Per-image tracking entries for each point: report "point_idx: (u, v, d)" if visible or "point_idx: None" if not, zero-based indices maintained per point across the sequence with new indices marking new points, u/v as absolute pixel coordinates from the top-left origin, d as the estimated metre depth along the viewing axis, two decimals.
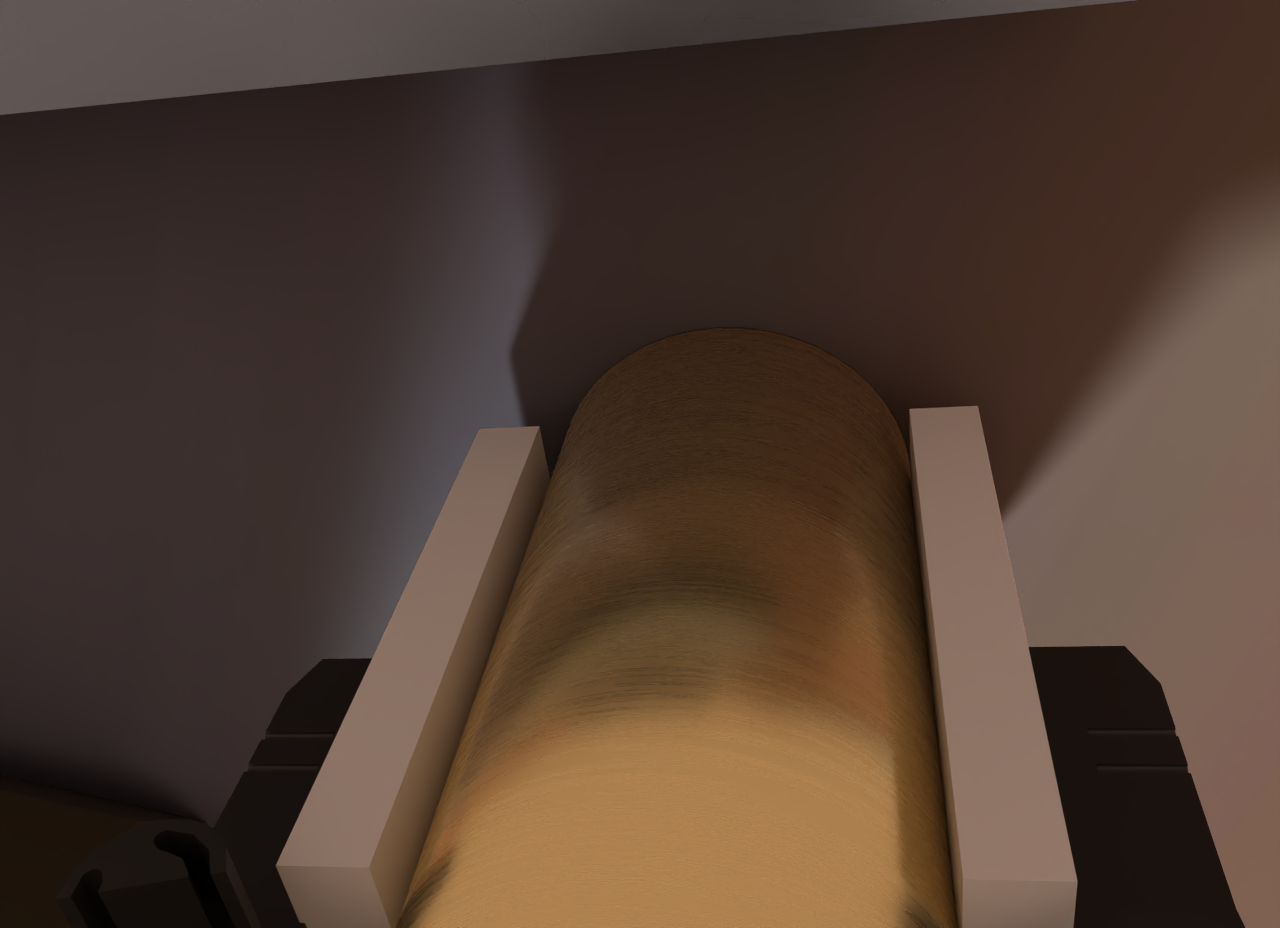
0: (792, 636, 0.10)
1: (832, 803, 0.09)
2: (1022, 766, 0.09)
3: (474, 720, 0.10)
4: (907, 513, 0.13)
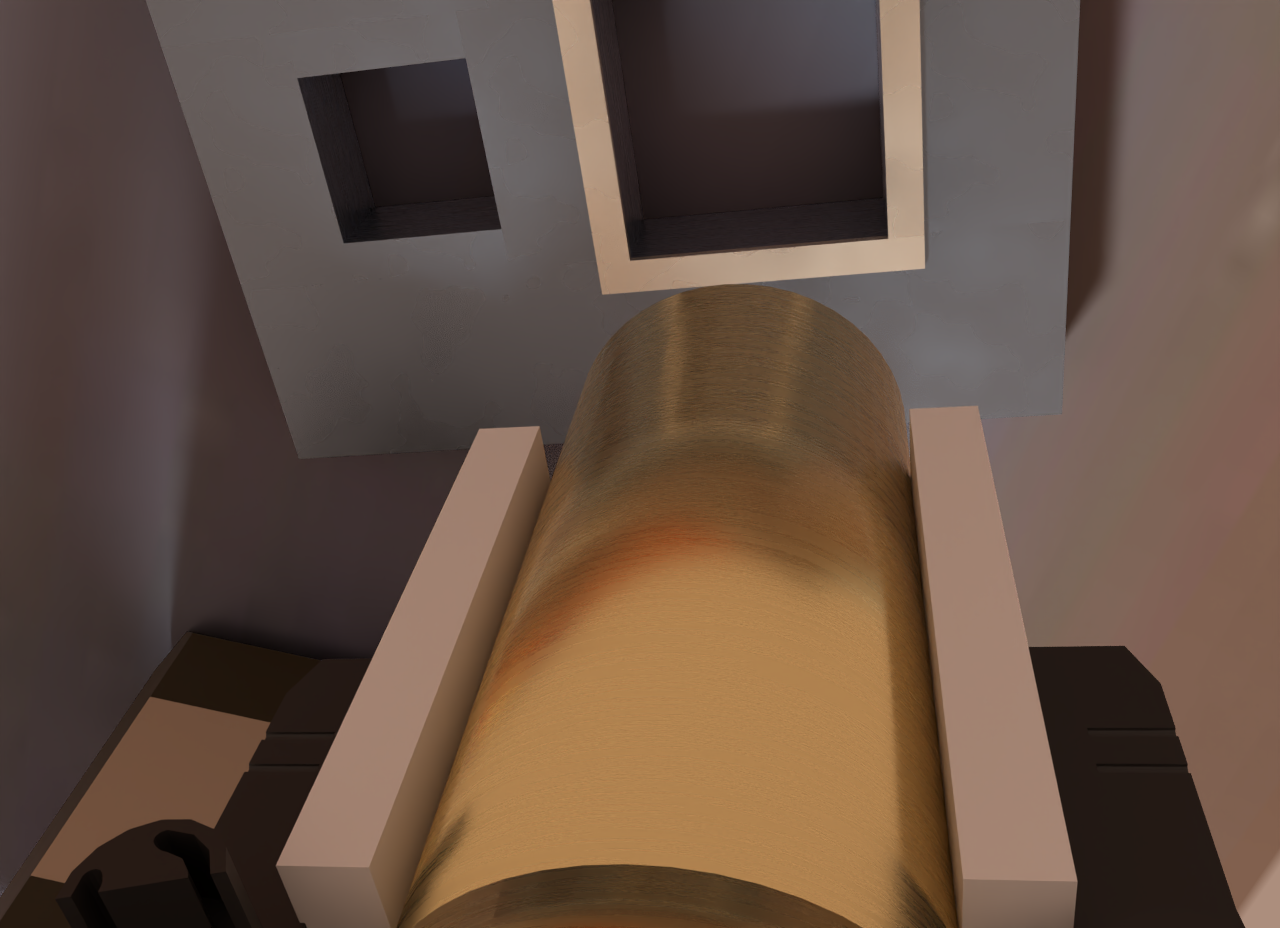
0: (796, 546, 0.11)
1: (831, 681, 0.10)
2: (1022, 766, 0.09)
3: (507, 625, 0.11)
4: (902, 452, 0.14)
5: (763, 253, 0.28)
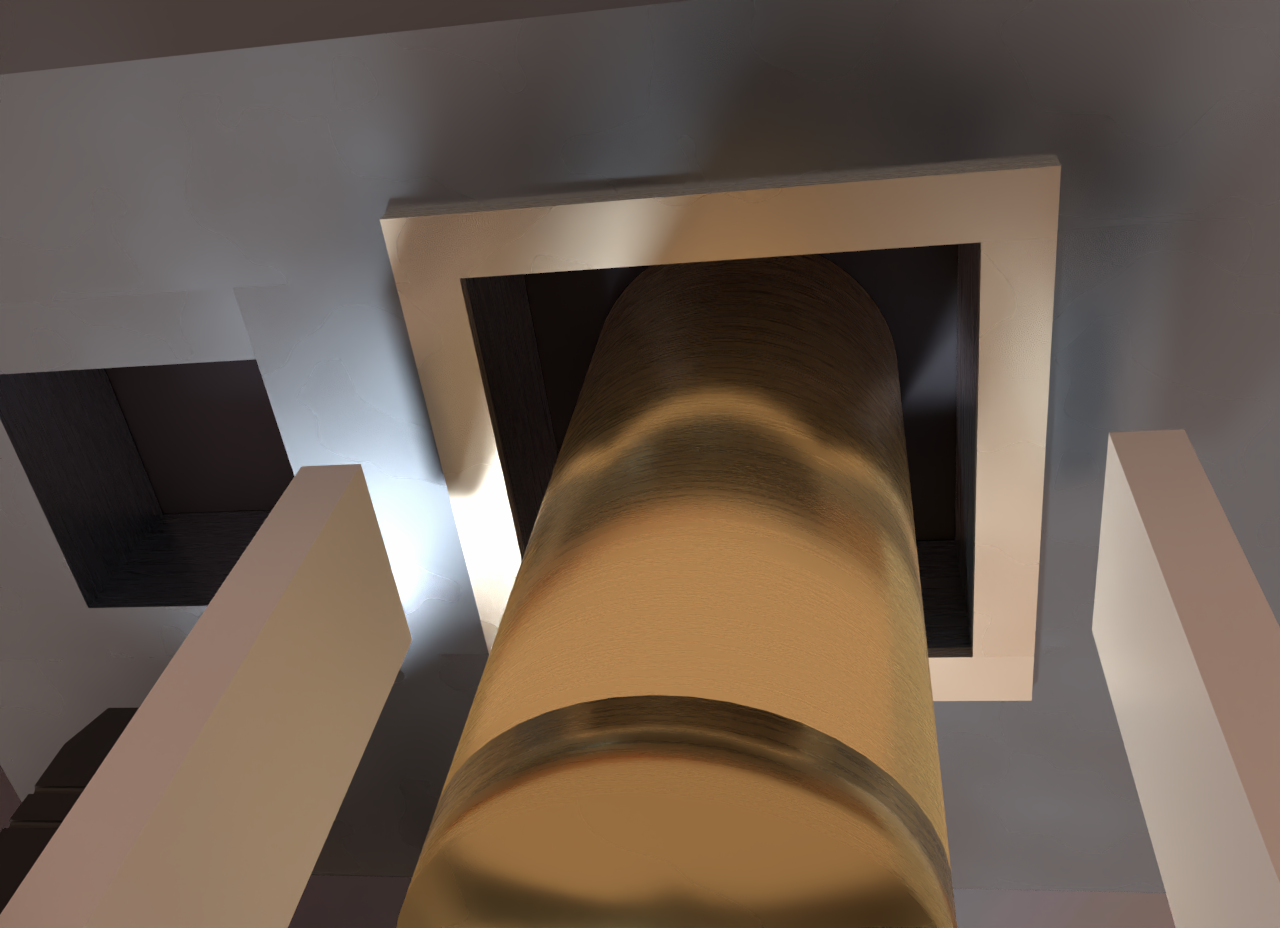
0: (798, 453, 0.12)
1: (829, 562, 0.11)
2: None
3: (538, 528, 0.13)
4: (893, 387, 0.15)
5: None
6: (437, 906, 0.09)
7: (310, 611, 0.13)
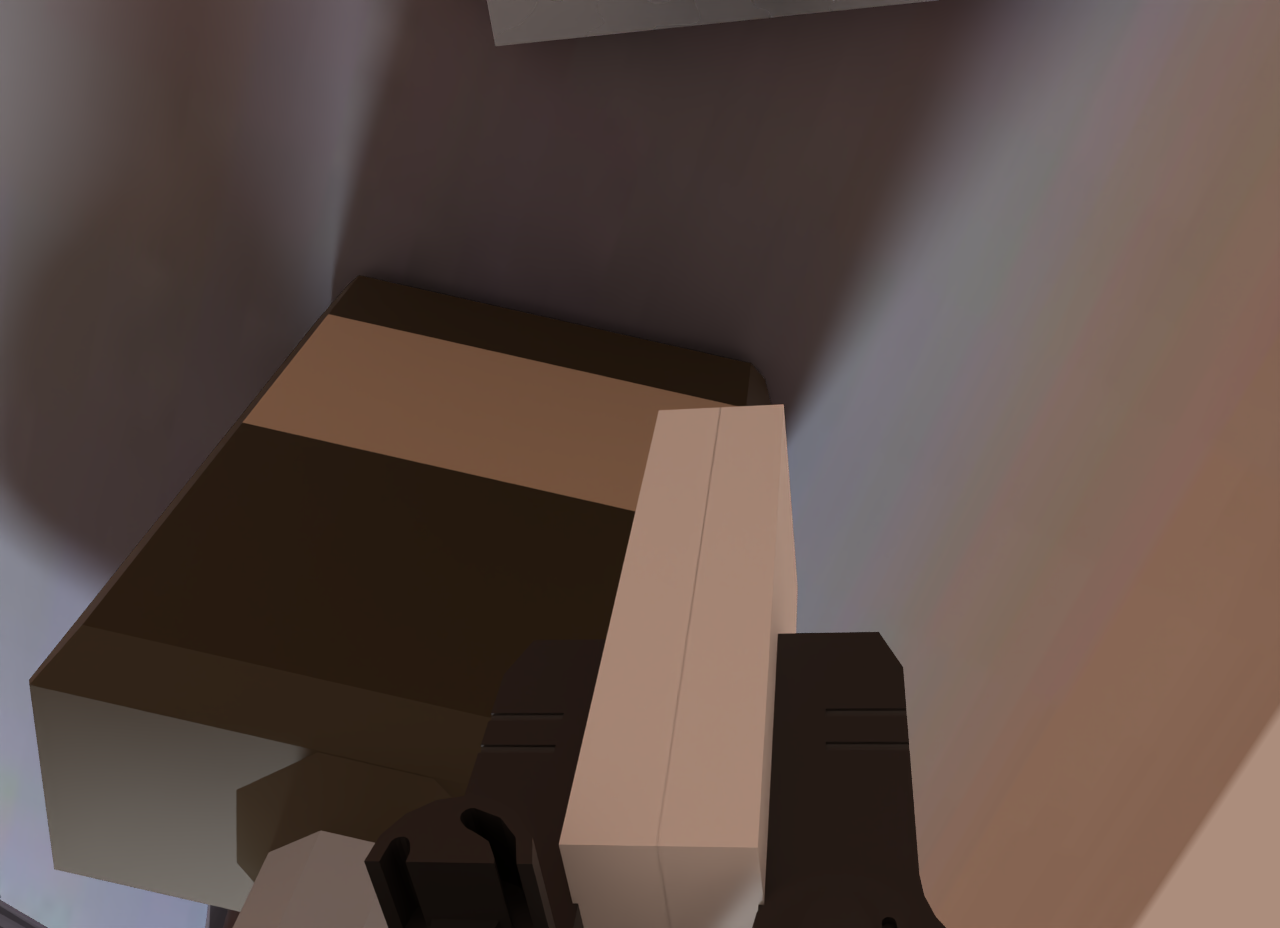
0: None
1: None
2: (736, 742, 0.10)
3: None
4: None
5: None
6: None
7: None
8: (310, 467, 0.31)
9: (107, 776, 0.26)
